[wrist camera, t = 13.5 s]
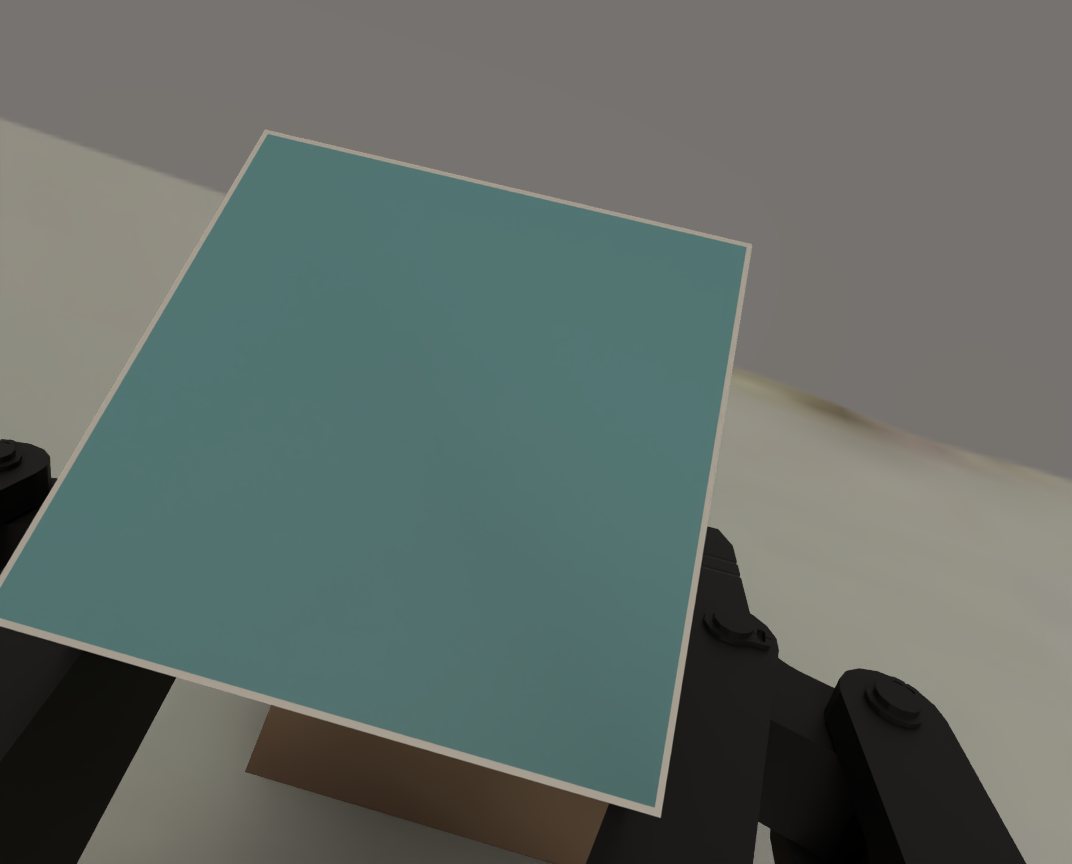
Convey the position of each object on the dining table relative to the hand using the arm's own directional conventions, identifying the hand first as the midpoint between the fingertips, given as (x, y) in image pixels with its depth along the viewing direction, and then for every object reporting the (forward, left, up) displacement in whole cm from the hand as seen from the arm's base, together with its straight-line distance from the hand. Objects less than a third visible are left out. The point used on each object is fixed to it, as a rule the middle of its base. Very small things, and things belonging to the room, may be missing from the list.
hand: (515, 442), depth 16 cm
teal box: (-2, -3, -5) cm, 6 cm away
